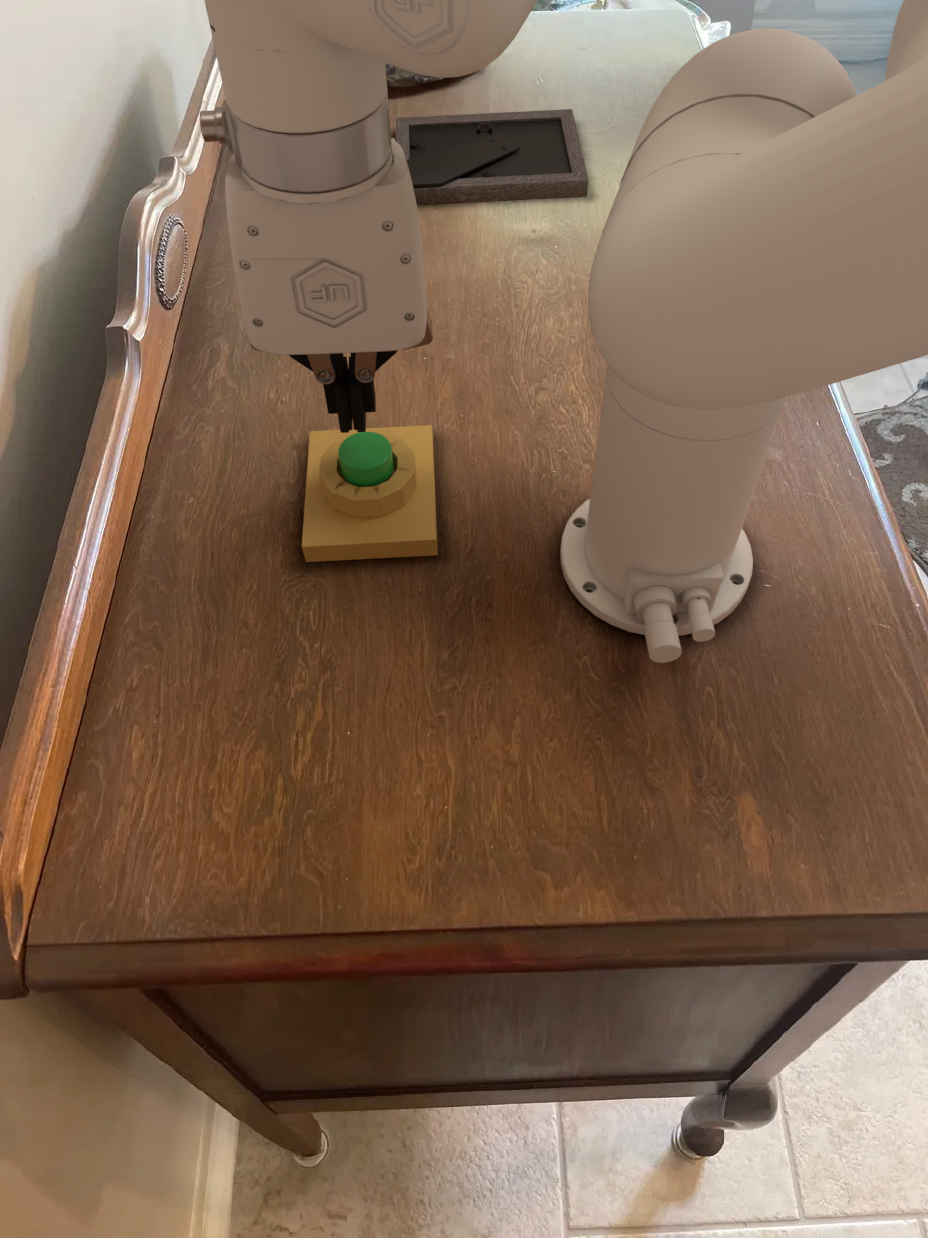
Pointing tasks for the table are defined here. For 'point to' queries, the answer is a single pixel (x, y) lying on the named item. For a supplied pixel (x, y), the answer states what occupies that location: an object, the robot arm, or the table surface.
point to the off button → (366, 459)
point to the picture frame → (493, 156)
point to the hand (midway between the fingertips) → (353, 416)
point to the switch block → (371, 500)
